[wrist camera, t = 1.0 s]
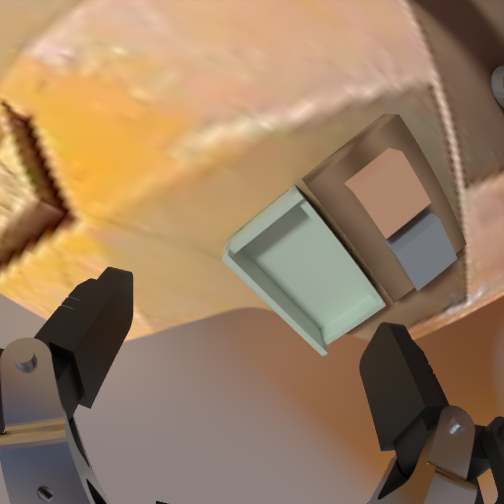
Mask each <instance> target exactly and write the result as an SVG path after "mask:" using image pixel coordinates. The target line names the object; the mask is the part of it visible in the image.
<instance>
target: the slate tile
mask: <svg viewBox="0 0 504 504" xmlns="http://www.w3.org/2000/svg"><path fill="white" fill-rule="evenodd" d="M385 243H386V245H387V246H388V248H389V250H390V251H391V253H392V254H393V256H394V257H395V259H396V261H397V262H398V264H399V265H400V267H401V269H402V270H403V272H404V274H405V275H406V277H407V279H408V280H409V281H410V282H411V284H412V285H413V286H414V288H415V289H416V290H417V291H419V290H420V289H421V288H422V287H424V286H425V285H426V284H428V283H429V282H430V281H431V280H433V279H434V278H435V277H436V276H437V275H439V274H440V273H441V272H442V271H444V270H445V269H446V268H447V267H448V266H449V265H451V264H452V263H453V262H454V261H455V260H456V259H457V257H456V254H455V252H454V249H453V247H452V245H451V243H450V240H449V238H448V236H447V234H446V232H445V229H444V227H443V225H442V223H441V221H440V219H439V218H438V217H437V216H435V215H434V214H433V213H431V212H430V211H428V210H427V209H425V210H423V211H422V212H421V213H420V214H419V215H417V216H416V217H415V218H414V219H412V220H411V221H410V222H409V223H408V224H406V225H405V226H404V227H403V228H401V229H400V230H399V231H398V232H396V233H395V234H394V235H393V236H391V237H390V238H389V239H387V240H386V241H385Z"/></svg>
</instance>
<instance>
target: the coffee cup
mask: <svg viewBox="0 0 504 504" xmlns="http://www.w3.org/2000/svg"><path fill="white" fill-rule="evenodd" d="M491 87H492V91H493V94H494V97H495V98H496V100H497V102H498V103H499V104H500V105H501V106H502V107H503V108H504V66H499V67H497V68H496V69H495V70H494V72H493V73H492V76H491Z"/></svg>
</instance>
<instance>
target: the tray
mask: <svg viewBox="0 0 504 504" xmlns="http://www.w3.org/2000/svg"><path fill="white" fill-rule="evenodd" d="M222 260H223V261H224V262H225V263H226V264H227V265H228V266H229V267H230V268H231V269H232V270H233V271H234V272H235V273H236V274H237V275H238V276H239V277H240V278H241V279H242V280H243V281H244V282H245V283H246V284H247V285H248V286H249V287H250V288H251V289H252V290H253V291H254V292H255V293H256V294H257V295H258V296H260V297H261V298H262V299H263V300H264V301H265V302H266V303H267V304H268V305H269V306H270V307H271V308H272V309H273V310H274V311H275V312H276V313H277V314H278V315H279V316H280V317H281V318H283V319H284V320H285V321H286V322H287V323H288V324H289V325H290V326H291V327H292V328H293V329H294V330H295V331H296V332H297V333H298V334H299V335H301V336H302V337H303V338H304V339H305V340H306V341H307V342H308V343H309V344H310V345H311V346H312V347H313V348H314V349H316V350H317V351H318V352H319V353H320V354H321V355H322V356H325V355H326V354H328V350H327V346H326V345H328V344H330V343H331V342H333V341H334V340H336V339H337V338H339V337H341V336H342V335H344V334H345V333H347V332H348V331H350V330H351V329H353V328H354V327H356V326H357V325H359V324H360V323H362V322H363V321H365V320H366V319H368V318H369V317H370V316H372V315H373V314H375V313H376V312H378V311H379V310H380V309H382V308H383V307H385V306H386V305H385V303H384V301H383V299H382V298H381V296H380V294H379V293H378V291H377V289H376V288H375V287H374V285H373V284H372V282H371V281H370V280H369V278H368V277H367V276H366V274H365V273H364V271H363V270H362V269H361V267H360V266H359V265H358V263H357V262H356V261H355V259H354V258H353V257H352V255H351V254H350V253H349V251H348V250H347V249H346V247H345V246H344V245H343V244H342V242H341V241H340V240H339V238H338V237H337V236H336V235H335V233H334V232H333V231H332V229H331V228H330V227H329V226H328V224H327V223H326V222H325V221H324V219H323V218H322V217H321V216H320V214H319V213H318V212H317V211H316V209H315V208H314V207H313V206H312V205H311V203H310V202H309V201H308V200H307V198H306V197H305V196H304V195H303V194H302V192H301V191H300V190H299V189H298V188H297V186H296V185H294V186H292V187H291V188H290V189H289V190H287V191H286V192H285V193H284V194H282V195H281V196H280V197H279V198H277V199H276V200H275V201H274V202H273V203H271V204H270V205H269V206H268V207H266V208H265V209H264V210H263V211H262V212H260V213H259V214H258V215H257V216H256V217H254V218H253V219H252V220H251V221H250V222H248V223H247V224H246V225H245V226H243V227H242V228H241V229H240V230H239V231H237V232H236V233H235V234H234V235H233V236H231V237H230V238H229V239H228V240H227V242H226V246H225V249H224V253H223V257H222Z"/></svg>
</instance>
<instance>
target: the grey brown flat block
mask: <svg viewBox="0 0 504 504" xmlns="http://www.w3.org/2000/svg"><path fill="white" fill-rule="evenodd" d="M388 148H392V149H395V150H399V151H402V152H403V154H404V155H405V157H406V159H407V160H408V162H409V164H410V165H411V167H412V169H413V170H414V172H415V174H416V176H417V177H418V179H419V181H420V183H421V184H422V186H423V188H424V190H425V192H426V194H427V195H428V197H429V199H430V201H431V203H430V204H429V205H428V206H427V207H425V208H424V209H423V210H425V209H427V210H428V211H430V212H431V213H433V214H434V215H435V216H437V217H438V218H439V219H440V221H441V223H442V225H443V227H444V229H445V232H446V234H447V236H448V238H449V240H450V243H451V245H452V247H453V249H454V252H455V254H456V253H457V252H458V251H460V250H461V249H462V248H463V247H464V246H465V245H466V242H465V239H464V237H463V234H462V232H461V229H460V227H459V224H458V222H457V220H456V218H455V215H454V213H453V211H452V209H451V206H450V204H449V202H448V200H447V198H446V196H445V194H444V192H443V190H442V188H441V186H440V184H439V182H438V180H437V178H436V176H435V174H434V172H433V170H432V168H431V167H430V165H429V163H428V161H427V159H426V158H425V156H424V154H423V152H422V151H421V149H420V147H419V145H418V144H417V142H416V140H415V139H414V137H413V136H412V134H411V132H410V131H409V129H408V128H407V126H406V124H405V123H404V121H403V120H402V118H401V117H400V115H392V114H384V115H382V116H381V117H380V118H378V119H377V120H376V121H375V122H373V123H372V124H371V125H369V126H368V127H367V128H365V129H364V130H363V131H362V132H360V133H359V134H358V135H356V136H355V137H354V138H353V139H351V140H350V141H349V142H348V143H346V144H345V145H344V146H342V147H341V148H340V149H339V150H337V151H336V152H335V153H334V154H332V155H331V156H330V157H328V158H327V159H326V160H325V161H323V162H322V163H321V164H320V165H318V166H317V167H316V168H315V169H313V170H312V171H311V172H310V173H308V174H307V175H306V176H305V177H303V178H302V180H303V181H304V182H305V184H306V185H307V187H308V188H309V189H310V191H311V192H312V193H313V194H314V195H315V197H316V198H317V199H318V200H319V202H320V203H321V204H322V205H323V207H324V208H325V209H326V210H327V212H328V213H329V214H330V216H331V217H332V218H333V219H334V221H335V222H336V223H337V225H338V226H339V227H340V228H341V230H342V231H343V232H344V234H345V235H346V236H347V238H348V239H349V240H350V242H351V243H352V244H353V246H354V247H355V248H356V250H357V251H358V252H359V254H360V255H361V257H362V258H363V259H364V261H365V262H366V264H367V265H368V266H369V268H370V269H371V271H372V272H373V273H374V275H375V276H376V278H377V279H378V280H379V282H380V283H381V285H382V286H383V288H384V289H385V291H386V292H387V294H388V295H389V297H390V298H391V299H392V301H393V302H394V303H395V302H396V301H397V300H399V299H400V298H401V297H403V296H404V295H405V294H407V293H408V292H409V291H411V290H412V289H413V288H414V286H413V285H412V284H411V282H410V281H409V280H408V279H407V277H406V275H405V274H404V272H403V270H402V269H401V267H400V265H399V264H398V262H397V261H396V259H395V257H394V256H393V254H392V253H391V251H390V250H389V248H388V246H387V245H386V243H385V241H386V240H387V239H389V238H390V237H391V236H393V235H394V234H395V233H396V232H398V231H399V230H400V229H401V228H403V227H404V226H405V225H406V224H408V223H409V222H410V221H411V220H412V219H414V218H415V217H416V216H417V215H419V214H420V213H421V212H422V211H423V210H422V211H421V212H419V213H418V214H417V215H416V216H415V217H413V218H412V219H411V220H410V221H408V222H407V223H406V224H405V225H403V226H402V227H401V228H400V229H399V230H397V231H396V232H395V233H393V234H392V235H391V236H390V237H388V238H387V239H385V238H384V237H383V236H382V235H381V234H380V232H379V231H378V230H377V229H376V228H375V227H374V225H373V224H372V222H371V221H370V219H369V218H368V216H367V215H366V214H365V212H364V211H363V209H362V208H361V206H360V205H359V204H358V202H357V201H356V199H355V198H354V197H353V195H352V194H351V193H350V191H349V190H348V188H347V187H346V186H345V184H344V183H345V182H347V181H348V180H349V179H350V178H352V177H353V176H354V175H355V174H357V173H358V172H359V171H360V170H362V169H363V168H364V167H365V166H367V165H368V164H369V163H370V162H372V161H373V160H374V159H376V158H377V157H378V156H379V155H381V154H382V153H383V152H384V151H386V150H387V149H388Z"/></svg>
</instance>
